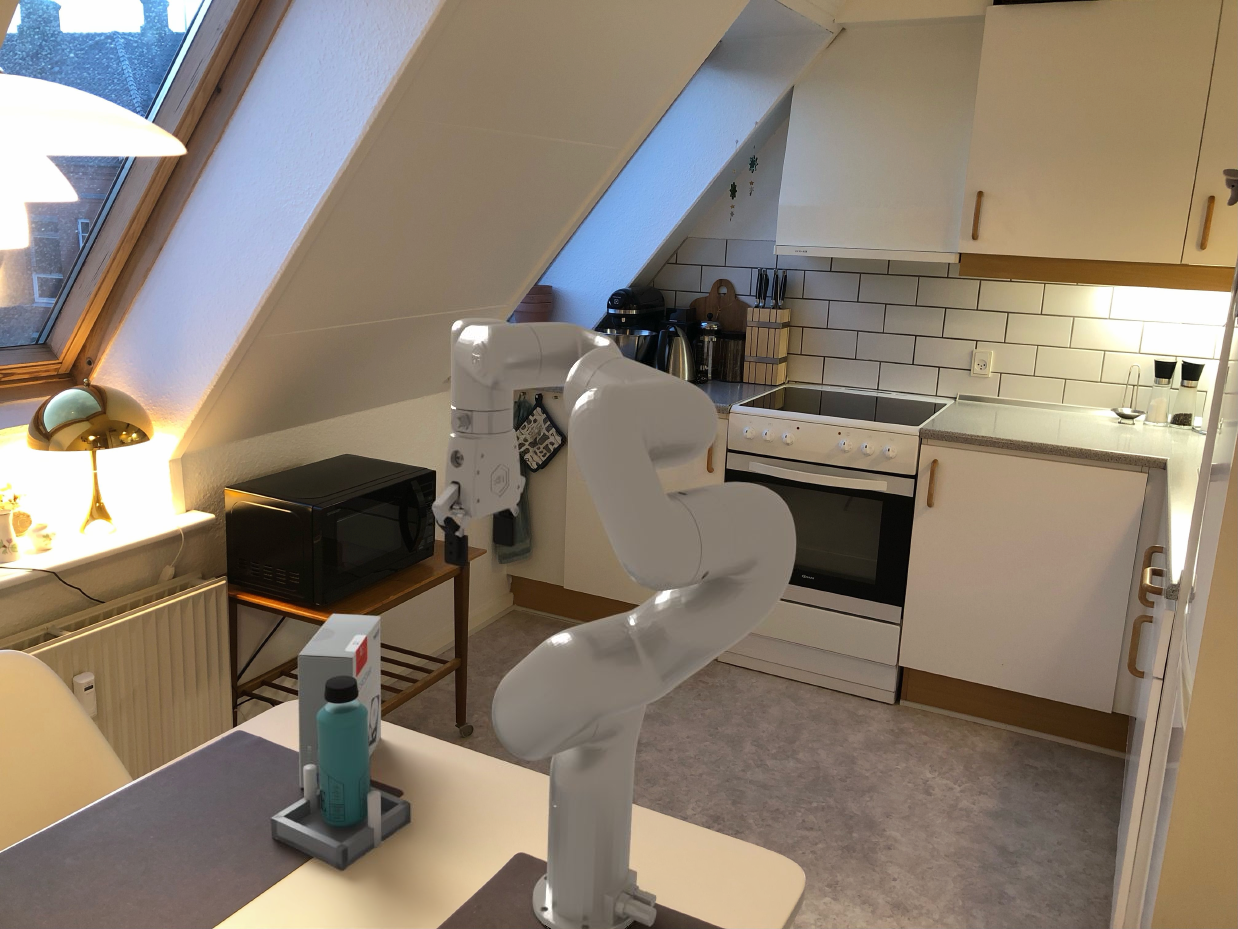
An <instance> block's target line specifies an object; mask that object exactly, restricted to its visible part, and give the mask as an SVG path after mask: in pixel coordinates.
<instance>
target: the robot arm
mask: <svg viewBox="0 0 1238 929" xmlns="http://www.w3.org/2000/svg"><path fill="white" fill-rule="evenodd" d="M450 332H451V333H450V434H449V438H448V445H447V452H446V460H445V471H444V490H443V492H442V493H441V494H440V495H439V496H438V498H436V499H435V501H434V502H433V503H432V506H431V510H432V513H433V515H434V517H435V523H436V524H437V525H438V527H439V528H440V532H441V533H442V534H444V538H443V539H444V540H443V541H444V548H443V549H444V562H445V564H447V565H451V566H456V567H459V568H467V566H468V564H469V535H468V534H465V533H466V531H467V528H468V526H469V525H470V522H471V520H472V519H475V520H479V519H483V518H486V517H489V516H490V517H491V516H492V542H493V543H494V544H496V545H499V546H505V547H508V548H512V547H515V546H516V528H517V526H516V525H517V524H516V523H517V522H516V520H517V519H516V518H517V516H518V514H519V510H520V509H519V505H520V503H521V501H522V499H523V491H524V488H525V485H526V477H524V476H523V475H521V465H520V462H521V461H520V452H519V444H518V437H517V432H516V429H514V392H515V391H516V390H527V389H536V388H537V389H538V388H539V389H540V388H549V387H550V388H551V387H563V390H562V395H563V396H562V397H563V398H562V400H563V402H562V403H563V406H564V410H565V412H566V415H567V416H568V418H569V439H570V444H571V445H570V446H571V447H572V451H573V455H574V458H575V461H576V464H577V466H578V467H577V468H578V469H579V472H580V474H581V476H582V479H583V481H584V483H585V486H586V488H587V490H588V493H589V495H590V498H591V499H592V502H593V504H594V506H595V509H596V511H597V513H598V517H599V519H600V521H601V523H602V526H603V528H604V530H605V533H606V535H607V537H608V540H609V542H610V544H611V547H612V550H613V551H614V554H615V556H616V558H617V560H618V562H619V564H620V566H621V567H622V569H623V570H624V571H625V573H626V574H627V575H628V577H630V579H631V580H632V581H633V582H634V583H635V584H636V585H638V586H640V587H642V588H644V589H646V590H650V591H655V592H656V593H654V595H652V596H651V597H650V598H648V599H647V600H646V601H645V602H643V603H642V604H640V605H638V606H636V607H635V608H633V609H631V610H628V611H626V612H622V613H617V614H613V615H610V616H606V617H604V618H600V619H599V618H598V619H596V620H592V621H589V622H586V623H582V624H579V625H575V626H572V627H569V628H566V629H563V630H561V631H559V632H557V633H556V634H553V635H552V636H550V637H548V638H547V639H545V640H544V641H543V642H542V643H540V644H539V645H538V646H537V647H536V648H534V649H533V650H532V651H531V652H529V654H527V656H526V657H524V658H523V659H522V660H520V662H519V663H517V664H516V665H515V666H514V667H513V668H512V669H510V671H509V672H508V673H506V675H505V676H504V677H503V678H502V679H501V681H500V683H499V684H498V686H497V688H496V689H495V693H494V695H493V696H494V697H493V699H492V700H493V701H492V705H491V708H492V709H491V718H492V719H491V720H492V725H493V729H494V730H493V731H494V733H495V735H496V737H497V738H498V740H499V742H500V744H502V746H503V748H505V750H507V751H508V752H509V754H512V755H513V756H515V757H517V758H519V759H522V760H525V761H541V760H545V759H547V758H550V757H552V758H551V761H550V768H549V787H548V788H549V790H548V792H549V793H548V821H547V824H548V826H547V827H548V829H547V853H546V854H547V855H546V856H547V857H546V858H547V860H546V873H544V875H543V876H541V878H539V880H538V881H537V883H536V884H535V886H534V887H533V892H532V908H533V909H532V910H533V911H534V914H535V915H536V917H537V919H538V920H539V921H540V922H541V924H542V925H544V926H545V925H546V926H548V927H550V928H551V929H624V928H626V927H627V926H628V927H629V925H630V924H631V923H632V922H633V921H634V922H635V921H636V922H638V923H640V924H643V925H645V926H647V927H651V926H652V925H653V924H654V923H655V920H656V918H657V917H656V916H657V909H656V908H655V907H654V906H655V904H656V902H657V895H656V894H654V893H652V892H649V891H645V890H642V889H640V887H639V885H637V884H638V883H637V878H638V871H637V870H634V869H631V868H630V859H631V858H630V856H631V855H630V854H631V839H632V837H631V835H632V818H633V817H632V816H633V799H634V785H635V784H634V783H635V780H634V779H635V769H636V768H635V766H636V765H635V764H636V754H637V748H638V742H639V741H638V740H639V738H640V732H641V729H642V726H643V725H642V724H643V723H644V722H643V721H644V718H645V713H646V710H647V705H648V704H652V703H653V702H656V701H658V700H659V699H661V698H663V697H665V696H666V695H667V694H668V693H670V692H671V691H672V690H674V689H675V688H676V687H678V686H679V685H680V684H681V683H683V682H684V681H686V680H688V678H690V677H691V676H693V675H694V674H696V673H697V672H699V671H701V670H702V669H703V668H705V667H706V666H707V665H708V664H709V663H711V662H712V661H714V660H715V659H716V658H718V657H719V656H720V655H722V654H723V653H724V652H726V651H727V650H729V649H730V648H732V647H733V646H734V645H736V644H737V643H738V642H740V641H742V640H743V639H744V638H745V637H747V636H748V635H749V634H750V633H752V632H753V631H754V629H756V628H757V627H758V626H759V625H760V624H761V623H762V622H763V621H764V620H766V619H767V617H768V616H769V615H770V613H772V611H773V610H774V609H775V608H776V606H777V605H778V603H779V602H780V600H781V599H782V597H783V595H784V593H785V591H786V590H787V587H788V585H789V582H790V581H791V577H792V573H793V571H794V570H793V569H794V565H795V560H796V554H797V552H796V551H797V534H796V526H795V522H794V518H793V515H792V512H791V511H790V508H789V506H788V504H787V503H786V501H785V500H783V498H782V497H781V496H780V495H779V494H778V493H776V492H775V491H774V490H771V489H770V488H768V487H766V486H764V485H761V484H758V483H757V484H756V483H753V482H752V483H751V482H741V481H727V482H721V483H720V482H719V483H713V484H707V485H703V486H696V487H692V488H690V487H689V488H685V489H679V490H675V491H670V492H666V491H665V488H664V486H663V484H662V482H661V479H660V478H659V475H658V472H657V470H664V469H671V468H675V467H680V466H684V465H688V464H689V463H691V462H694V461H696V460H697V459H699V458H700V457H701V456H703V455H704V454H705V453H707V451H708V450H709V448H711V446H712V445H713V443H714V441H715V440H716V437H717V435H718V430H719V415H718V411H717V407H716V405H715V403H714V402H713V400H712V399H711V397H709V395H708V394H707V393H706V392H705V391H703V389H701V388H700V387H698V386H696V385H695V384H694V383H691V382H689V381H688V380H685V379H682V378H680V377H678V376H675V375H672V374H670V373H667V372H666V371H665V372H664V371H662V370H659V369H657V368H654V367H651V366H649V365H646V364H644V363H641V362H639V361H636V360H633V359H630V358H629V357H625V356H624V355H623V353H622V351H621V350H620V348H619V346H618V345H617V343H616V342H615V341H614V339H612V338H611V337H609V335H606V334H604V333H601V332H598V331H597V330H596V331H595V330H593V329H590V328H588V327H584V326H581V325H579V324H575V323H571V322H563V321H562V322H561V321H560V322H559V321H554V322H553V321H552V322H551V321H548V322H547V321H546V322H545V321H544V322H543V321H540V322H539V321H538V322H537V321H536V322H520V323H519V322H517V323H510V322H509V321H506V320H504V319H500V318H499V319H498V318H491V317H467V318H462V319H458V320H456V321H455V322H454V323H453V325H452V327H451V331H450ZM457 517H459V518H460V520H459V522H458V523H457V521H456V518H457ZM634 922H633V923H634ZM633 923H632V924H633ZM632 924H631V925H632ZM631 925H630V926H631ZM546 926H545V927H546ZM548 927H547V928H548ZM628 927H627V928H628ZM627 928H626V929H627Z"/></svg>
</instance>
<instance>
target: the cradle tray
mask: <svg viewBox="0 0 1238 929" xmlns="http://www.w3.org/2000/svg"><path fill="white" fill-rule="evenodd" d="M303 773H304V788H303V794H304V795H303V798H301V799H300V800H298V801H296V802H294V803H292V804H291V805H288V807H286V808H285V809H283V810H281V811H280V812H277V814H275V815H273V816H271V817H270V825H271V826H270V827H271V828H270V829H271V830H270V832H271V838H272V837H274V838H277V839H278V840H277V841H279V840H280V841H279V842H281V841H283V842H285V843H286V845H287V844H288V846H289V845H291V846H293V847H295V848H296V849H295V848H294V849H295V850H297V849H299V850H300V852H302V853H304V854H305V855H309V856H310V857H312V858H314V859H317V860H319V861H320V862H323V863H325V864H327V865H328V866H331V867H334V868H335V869H337V870H340V871H344V870H345V869H347V868H348V867H349V866H351V865H352V864H354V863H355V862H356V861H358V860H360V859H361V858H362V857H364V856H365V855H366V854H367V853H369V852H371V851H372V850H373V849H375V848H378V847H381V845H382V843H383V842H384V841H385V840H387V839H389V838H390V837H391V836H393V835H394V834H395V833H397V832H399V831H400V830H401V829H402V828H404V827H406V826H407V825H408V824H409V823H411V821H412V820H411V816H412V815H411V814H412V813H411V811H412V810H411V806H412V804H411V802H410V801H407V800H404V799H403V798H400V797H398V796H396V795H393V794H391V793H389V792H386V791H383V790H381V789H378V788H376V787H373V786H372V785H370V792H369V793H368V794H367V803H368V816H367V817H366V818H365V819H363V820H362V821H360V822H358V823H356V824H352V825H347V826H336V825H331V824H329V823H327V822H325V821H324V819H323V817H322V815H321V814H320V813H321V811H320V810H321V807H319V805H320V806H321V801H320V788H317V776H316V765H313V764H309V765H306V766H304V768H303ZM371 788H372V791H371ZM319 801H320V802H319ZM274 838H273V839H274ZM283 842H282V843H283ZM285 843H284V844H285ZM291 846H290V847H291ZM293 847H292V848H293ZM299 850H298V851H299Z"/></svg>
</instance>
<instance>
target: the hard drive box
mask: <svg viewBox="0 0 1238 929" xmlns="http://www.w3.org/2000/svg"><path fill="white" fill-rule="evenodd" d="M381 617H382V616H381V615H380V616H379V615H364V614H346V613H343V614H342V613H332V614H331V615H330V616H329V617H328V618H327V619H326V621H325V622H324V623H323V624H322V625H321V627H320V628H319V629H318V631H317V632H316V633H315V634H314V635H313V636H312V638H311V639H310V640H309V641H308V643H306V645H305V646H304V647H303V648H302V650H300V652H299V653H298V655H297V682H298V684H297V687H298V689H297V690H298V694H297V695H298V699H297V700H298V756H299V758H298V759H299V760H298V768H299V769H298V772H299V773H298V774H299V778H298V779H299V787H300V788H301V789H302V788H303V789H304V773H303V768H304V766H306V765H309V764H313V765H316V776H317V789H319V788H320V779H319V778H318V777H319V776H318V775H319V770H318V769H319V757H318V725H317V714H318V712H319V711H320V709H321V708H323V707H324V706H325V705H326V704H327V703H329V702H327V701H326V700H325V699H324V692H325V683H326V681H327V680H328V679H330V678H333V677H336V676H351V677H354V678H355V679H356V680H357V685H358V691H359V695H358V697H357V698H356V699H355V700H356V701H358V702H360V703H361V704H363V705H364V706H365V707H366V708H367V710H368V743H369V748H370V749H369V757H370V755H371V756H372V755H373V753H374V751H375V750H376V748H377V745H378V743H379V741H380V739H381V738H382V732H381V731H382V698H381V696H382V694H381V692H382V691H381V690H382V689H381V688H382V687H381V682H382V679H381V674H382V672H381V669H382V668H381V626H382V625H381V619H382V618H381ZM317 758H318V759H317ZM370 758H371V757H370ZM318 783H319V786H318Z"/></svg>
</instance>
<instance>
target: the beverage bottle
mask: <svg viewBox="0 0 1238 929" xmlns="http://www.w3.org/2000/svg"><path fill="white" fill-rule="evenodd" d="M358 695H359V691H358V685H357V680H356V679H355V678H354V677H351V676H336V677H333V678H330V679H328V680H327V681H326V683H325V692H324V699H325V700H326V701H327V702H329V703H327V704H326V705H325V706H324V707H323V708H321V709H320V711H319V712H318V714H317V725H318V757H319V769H318V770H319V775H318V776H319V777H318V778H319V779H320V801H321V806H320V805H319V807H321V810H320V811H321V813H320V814H321V815H322V817H323V819H324V821H325V822H327V823H329V824H331V825H336V826H347V825H352V824H356V823H358V822H360V821H362V820H363V819H365V818H366V817H367V816H368V803H367V794H368V793H369V792H370V786H371V771H372V768H371V757H372V754H371V755H370V757H369V749H370V748H369V743H368V710H367V708H366V707H365V706H364V705H363V704H361V703H360V702H358V701H356V700H355V699H356V698H357V697H358ZM317 759H318V758H317ZM318 786H319V783H318ZM371 791H372V788H371ZM320 801H319V802H320Z"/></svg>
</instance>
